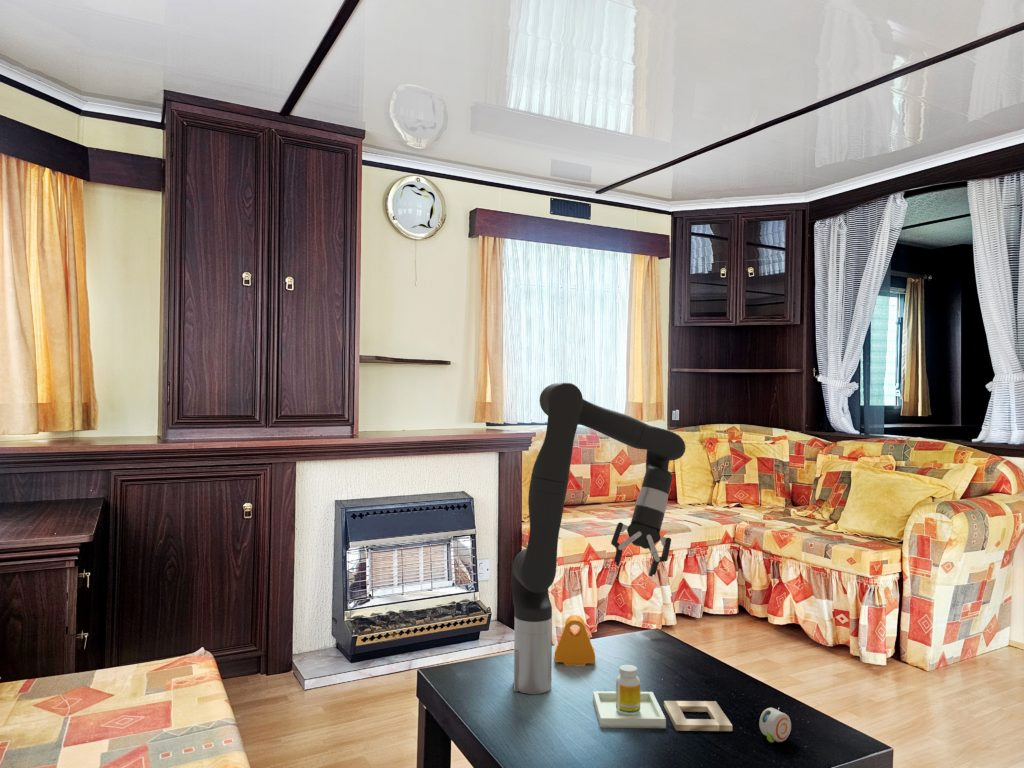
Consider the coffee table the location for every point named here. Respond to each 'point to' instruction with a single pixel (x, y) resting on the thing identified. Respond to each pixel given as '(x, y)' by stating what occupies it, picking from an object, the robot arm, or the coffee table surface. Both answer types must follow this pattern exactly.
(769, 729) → the roller toy
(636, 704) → the supplement bottle
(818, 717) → the coffee table surface
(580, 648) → the bracket
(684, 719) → the holder board
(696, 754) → the coffee table surface
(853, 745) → the coffee table surface
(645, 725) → the tray
